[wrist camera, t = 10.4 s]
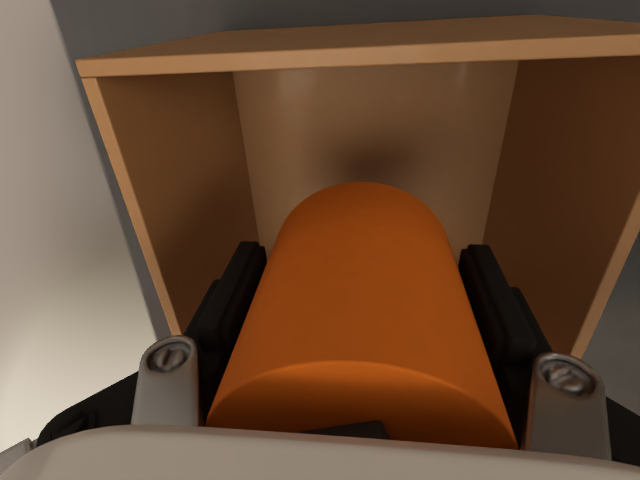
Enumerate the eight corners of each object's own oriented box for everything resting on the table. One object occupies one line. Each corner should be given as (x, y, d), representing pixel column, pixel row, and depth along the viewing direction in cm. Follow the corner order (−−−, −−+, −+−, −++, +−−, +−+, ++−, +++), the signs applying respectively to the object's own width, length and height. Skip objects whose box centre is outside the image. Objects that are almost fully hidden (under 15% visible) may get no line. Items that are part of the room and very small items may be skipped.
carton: (534, 14, 16) (732, 29, 7) (479, 276, 23) (544, 441, 15) (220, 31, 18) (73, 60, 9) (260, 270, 25) (200, 415, 16)
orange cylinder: (423, 153, 11) (527, 441, 4) (467, 303, 14) (577, 638, 7) (245, 215, 13) (85, 493, 6) (315, 337, 16) (269, 631, 8)
